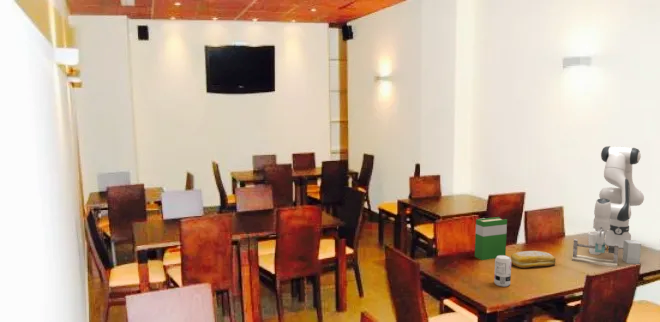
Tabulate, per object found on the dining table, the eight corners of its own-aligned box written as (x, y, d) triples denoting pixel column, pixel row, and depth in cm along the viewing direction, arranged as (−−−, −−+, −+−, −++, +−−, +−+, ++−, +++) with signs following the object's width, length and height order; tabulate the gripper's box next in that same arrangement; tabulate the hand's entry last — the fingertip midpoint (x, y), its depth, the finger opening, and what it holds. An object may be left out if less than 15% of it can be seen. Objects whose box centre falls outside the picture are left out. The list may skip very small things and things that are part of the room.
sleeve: (595, 249, 309) (596, 241, 308) (604, 251, 306) (605, 242, 306) (594, 251, 305) (595, 243, 304) (604, 253, 303) (604, 244, 302)
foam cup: (585, 253, 323) (586, 233, 322) (587, 250, 331) (588, 230, 329) (602, 256, 318) (603, 236, 316) (603, 252, 326) (605, 232, 324)
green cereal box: (497, 253, 324) (499, 217, 321) (505, 256, 317) (507, 219, 314) (474, 256, 318) (476, 219, 315) (482, 260, 311) (483, 222, 308)
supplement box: (639, 264, 303) (641, 243, 302) (626, 263, 305) (627, 243, 303) (635, 260, 310) (636, 240, 309) (621, 259, 312) (623, 239, 310)
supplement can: (491, 281, 275) (492, 255, 273) (506, 281, 276) (507, 254, 274) (497, 287, 267) (499, 259, 265) (512, 286, 268) (514, 259, 266)
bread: (506, 263, 305) (506, 250, 304) (543, 259, 312) (544, 247, 311) (520, 271, 292) (521, 257, 291) (558, 266, 300) (559, 253, 299)
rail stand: (573, 256, 318) (574, 237, 317) (617, 262, 306) (618, 243, 304) (571, 260, 310) (573, 241, 308) (616, 267, 297) (618, 247, 296)
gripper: (606, 230, 293) (605, 253, 295) (608, 222, 311) (606, 244, 312) (594, 229, 296) (593, 251, 298) (596, 221, 314) (595, 243, 316)
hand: (600, 248), depth 305 cm, fingers closed on sleeve, 4 cm apart
